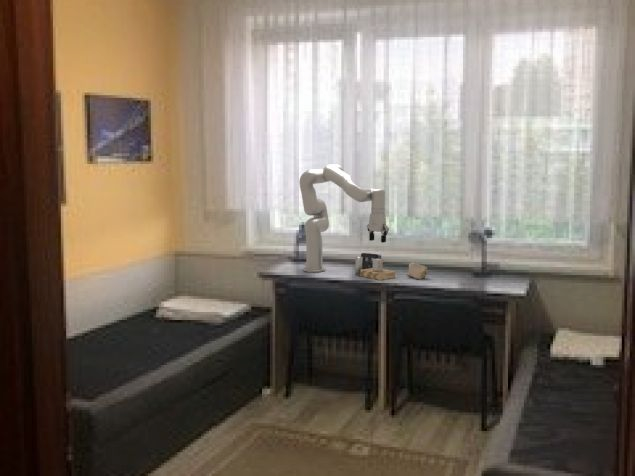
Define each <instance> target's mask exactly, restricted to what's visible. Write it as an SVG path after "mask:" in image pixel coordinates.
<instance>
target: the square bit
mask: <svg viewBox="0 0 635 476" xmlns="http://www.w3.org/2000/svg"><path fill="white" fill-rule="evenodd" d="M383 260H384V259H382V258H381V259H373V271H376V272H380V271H383V269H384V268H383V267H384V266H383V264H384V261H383Z"/></svg>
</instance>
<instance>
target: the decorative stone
mask: <svg viewBox="0 0 635 476" xmlns="http://www.w3.org/2000/svg"><path fill="white" fill-rule="evenodd" d="M406 276H407V277H410V278H415V279H418V280H422V279H423V278H424V279H426V276H428V267H427V266H425V265H421V264H419V263H416V262H415V261H414V262H413V261H412V262H411V263H409V264H408V272H407V274H406Z"/></svg>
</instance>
